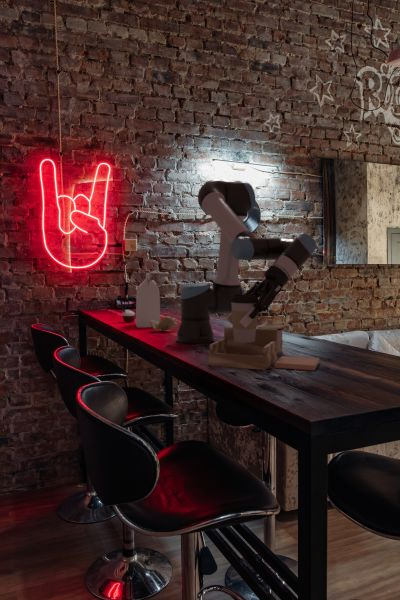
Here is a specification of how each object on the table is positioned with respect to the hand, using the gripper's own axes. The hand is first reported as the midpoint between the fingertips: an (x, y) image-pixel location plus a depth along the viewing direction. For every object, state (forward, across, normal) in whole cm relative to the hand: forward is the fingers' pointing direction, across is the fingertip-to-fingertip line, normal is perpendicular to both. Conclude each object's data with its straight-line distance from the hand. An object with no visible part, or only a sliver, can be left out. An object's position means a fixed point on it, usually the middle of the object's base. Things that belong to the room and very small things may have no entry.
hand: (235, 323), depth 170 cm
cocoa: (+14, +122, -8) cm, 123 cm away
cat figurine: (+9, +80, -12) cm, 81 cm away
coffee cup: (+2, 0, -6) cm, 7 cm away
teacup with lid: (-5, +16, -24) cm, 30 cm away
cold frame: (+7, 0, -11) cm, 13 cm away
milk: (+9, +103, -12) cm, 104 cm away
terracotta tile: (-3, -10, -21) cm, 23 cm away
